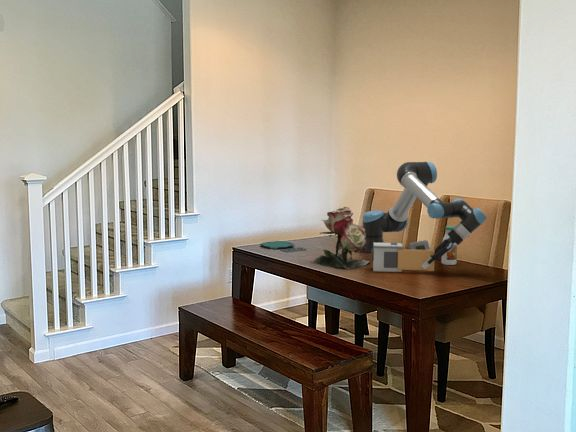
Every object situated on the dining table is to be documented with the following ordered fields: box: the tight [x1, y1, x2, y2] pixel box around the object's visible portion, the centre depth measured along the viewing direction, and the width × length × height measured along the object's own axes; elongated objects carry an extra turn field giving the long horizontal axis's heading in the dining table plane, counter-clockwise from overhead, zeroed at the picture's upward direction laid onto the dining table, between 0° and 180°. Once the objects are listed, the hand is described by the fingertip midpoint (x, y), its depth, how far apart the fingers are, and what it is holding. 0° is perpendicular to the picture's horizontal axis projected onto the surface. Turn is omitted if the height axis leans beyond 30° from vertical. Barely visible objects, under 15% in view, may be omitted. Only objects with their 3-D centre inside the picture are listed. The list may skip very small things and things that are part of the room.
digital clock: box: [408, 239, 431, 250], centre depth 326 cm, size 16×9×11 cm, turn 120°
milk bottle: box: [440, 225, 458, 266], centre depth 318 cm, size 8×8×20 cm
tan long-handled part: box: [398, 248, 435, 272], centre depth 296 cm, size 18×3×10 cm, turn 83°
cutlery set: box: [260, 240, 307, 253], centre depth 366 cm, size 20×30×2 cm, turn 34°
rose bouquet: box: [313, 206, 370, 270], centre depth 318 cm, size 26×29×30 cm
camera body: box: [370, 241, 404, 273], centre depth 303 cm, size 15×11×14 cm
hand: (422, 266), depth 296 cm, fingers closed on tan long-handled part, 3 cm apart
